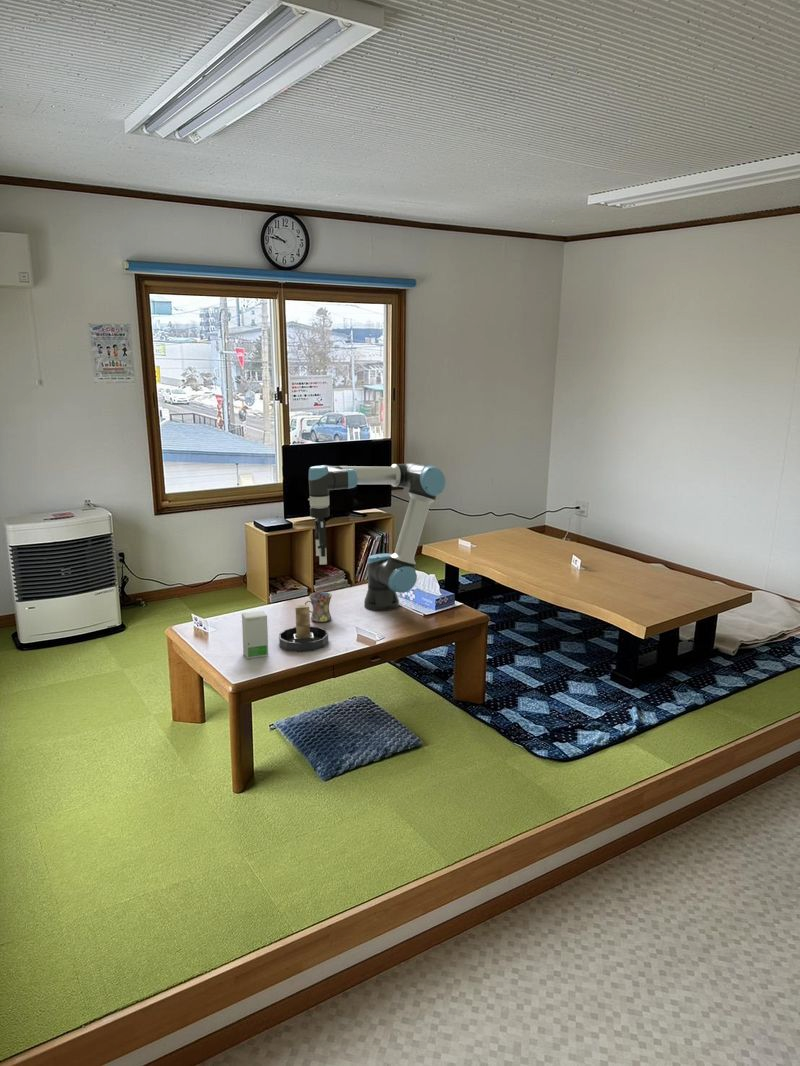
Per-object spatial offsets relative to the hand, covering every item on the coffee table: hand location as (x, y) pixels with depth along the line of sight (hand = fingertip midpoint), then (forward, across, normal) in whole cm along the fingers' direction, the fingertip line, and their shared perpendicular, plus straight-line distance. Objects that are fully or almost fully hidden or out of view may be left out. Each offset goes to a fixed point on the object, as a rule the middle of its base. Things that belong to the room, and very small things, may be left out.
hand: (321, 559), depth 293 cm
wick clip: (+29, +14, -9) cm, 33 cm away
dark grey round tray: (+29, +14, -9) cm, 33 cm away
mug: (+29, -11, -1) cm, 31 cm away
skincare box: (+29, +21, -27) cm, 45 cm away
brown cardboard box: (+28, +14, -9) cm, 32 cm away
